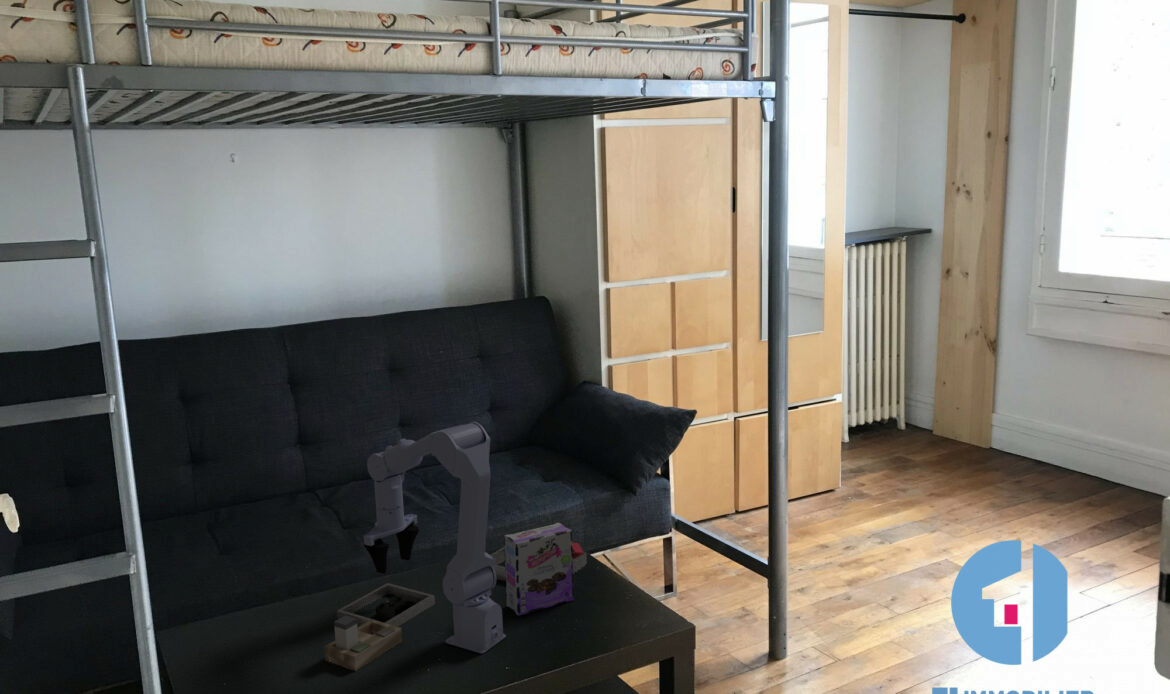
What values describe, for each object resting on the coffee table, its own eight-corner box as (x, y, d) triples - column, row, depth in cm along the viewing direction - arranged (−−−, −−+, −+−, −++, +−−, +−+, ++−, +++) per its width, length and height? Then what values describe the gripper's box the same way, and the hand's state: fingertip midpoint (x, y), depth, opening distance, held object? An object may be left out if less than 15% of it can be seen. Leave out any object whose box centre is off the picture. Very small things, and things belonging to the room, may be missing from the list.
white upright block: (359, 656, 186) (356, 618, 185) (348, 663, 184) (345, 625, 182) (348, 653, 188) (345, 615, 186) (337, 659, 185) (334, 621, 184)
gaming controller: (393, 624, 197) (377, 601, 199) (381, 637, 200) (365, 614, 202) (424, 606, 206) (408, 583, 207) (412, 618, 208) (396, 596, 210)
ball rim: (586, 564, 226) (586, 552, 226) (548, 591, 213) (547, 579, 212) (519, 549, 237) (518, 538, 236) (478, 574, 223) (477, 562, 222)
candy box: (518, 617, 201) (515, 543, 198) (505, 606, 206) (502, 534, 203) (574, 600, 208) (572, 529, 205) (561, 591, 213) (559, 521, 210)
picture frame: (434, 604, 208) (434, 595, 208) (385, 634, 195) (384, 625, 194) (388, 591, 215) (387, 582, 214) (337, 619, 202) (336, 610, 201)
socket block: (402, 641, 192) (401, 626, 191) (355, 671, 181) (354, 655, 180) (372, 632, 196) (371, 617, 195) (325, 661, 185) (324, 645, 184)
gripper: (398, 492, 211) (402, 550, 214) (351, 513, 199) (355, 574, 202) (423, 497, 208) (426, 556, 210) (376, 518, 195) (380, 581, 198)
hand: (393, 565), depth 206 cm, fingers open, 7 cm apart
